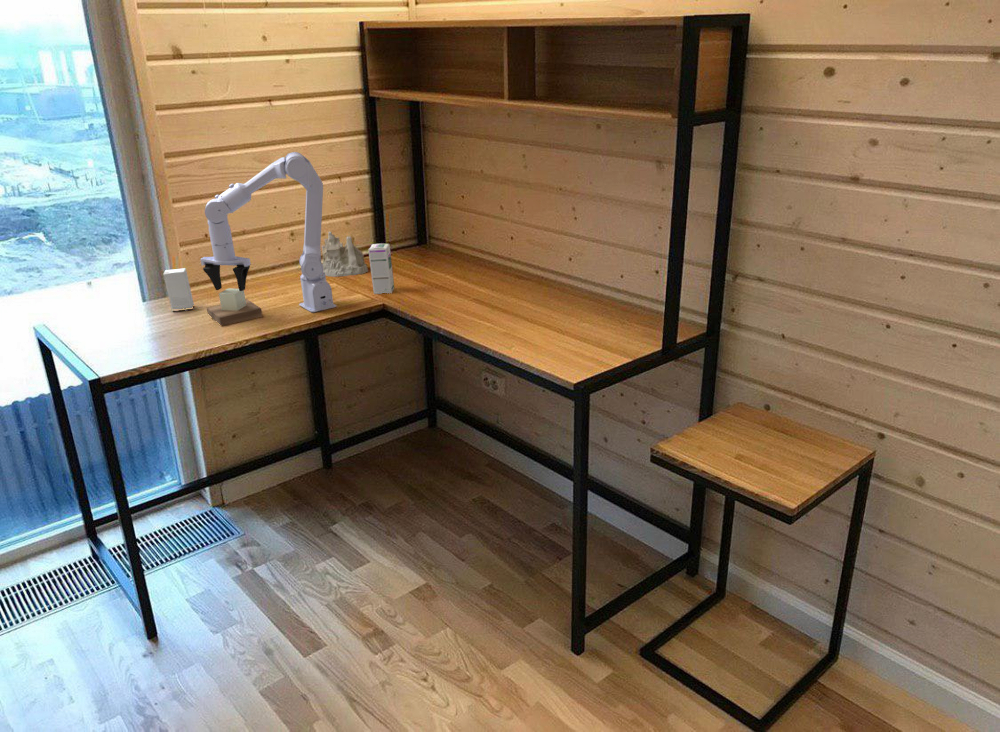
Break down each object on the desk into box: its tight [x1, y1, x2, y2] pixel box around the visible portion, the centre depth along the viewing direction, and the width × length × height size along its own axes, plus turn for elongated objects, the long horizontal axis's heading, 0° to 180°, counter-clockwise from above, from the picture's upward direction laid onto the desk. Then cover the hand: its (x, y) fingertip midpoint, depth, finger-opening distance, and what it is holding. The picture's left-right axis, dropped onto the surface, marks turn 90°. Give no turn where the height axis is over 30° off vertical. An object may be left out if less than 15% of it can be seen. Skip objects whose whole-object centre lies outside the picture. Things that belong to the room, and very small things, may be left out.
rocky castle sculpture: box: [321, 231, 369, 278], centre depth 270 cm, size 16×16×15 cm
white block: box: [218, 288, 246, 311], centre depth 229 cm, size 5×5×5 cm
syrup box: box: [368, 242, 395, 295], centre depth 245 cm, size 6×6×14 cm
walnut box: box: [206, 298, 263, 326], centre depth 231 cm, size 12×12×3 cm
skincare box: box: [162, 267, 195, 310], centre depth 236 cm, size 6×4×12 cm
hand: (230, 289), depth 228 cm, fingers open, 7 cm apart
